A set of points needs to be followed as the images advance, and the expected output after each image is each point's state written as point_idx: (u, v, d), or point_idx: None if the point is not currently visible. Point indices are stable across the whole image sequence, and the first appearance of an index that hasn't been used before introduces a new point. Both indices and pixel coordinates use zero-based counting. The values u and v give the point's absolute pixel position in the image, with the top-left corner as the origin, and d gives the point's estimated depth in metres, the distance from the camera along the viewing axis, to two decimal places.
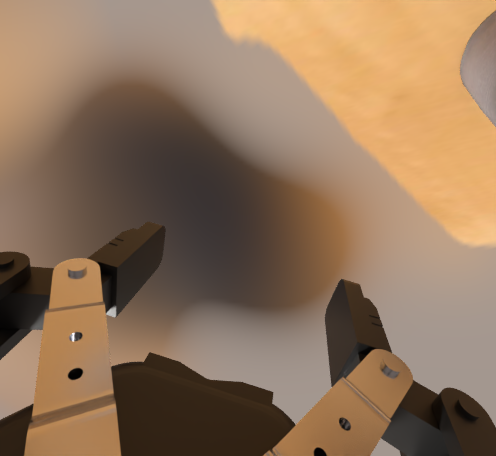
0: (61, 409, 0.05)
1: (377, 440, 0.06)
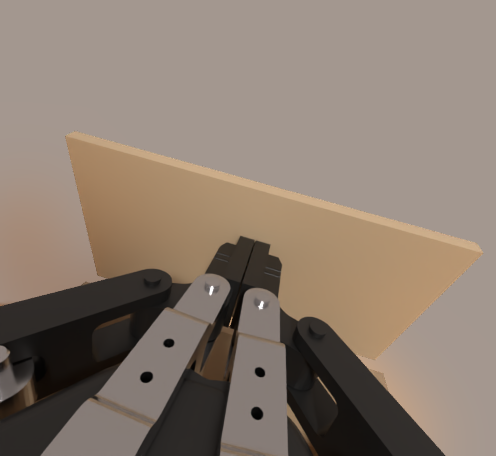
0: (115, 402, 0.05)
1: (284, 367, 0.07)
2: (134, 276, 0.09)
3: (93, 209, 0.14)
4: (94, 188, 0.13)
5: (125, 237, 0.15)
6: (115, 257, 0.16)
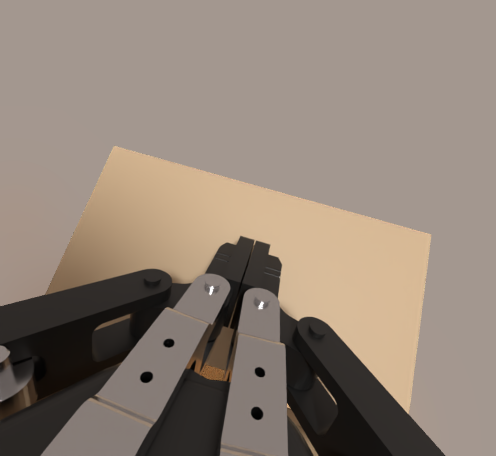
0: (115, 402, 0.05)
1: (284, 367, 0.07)
2: (134, 276, 0.09)
3: (97, 210, 0.15)
4: (112, 188, 0.15)
5: (116, 243, 0.14)
6: (86, 274, 0.14)
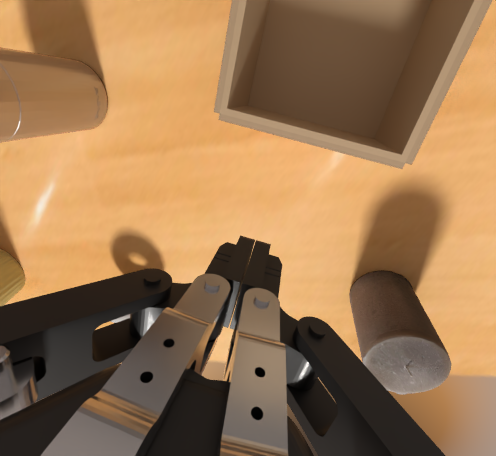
0: (115, 402, 0.05)
1: (284, 366, 0.07)
2: (134, 276, 0.09)
3: None
4: None
5: None
6: None
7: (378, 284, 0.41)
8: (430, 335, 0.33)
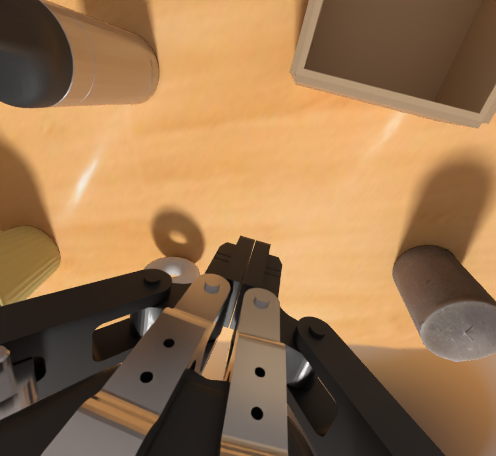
0: (115, 402, 0.05)
1: (284, 366, 0.07)
2: (134, 276, 0.09)
3: None
4: None
5: None
6: None
7: (427, 257, 0.42)
8: (491, 300, 0.33)
